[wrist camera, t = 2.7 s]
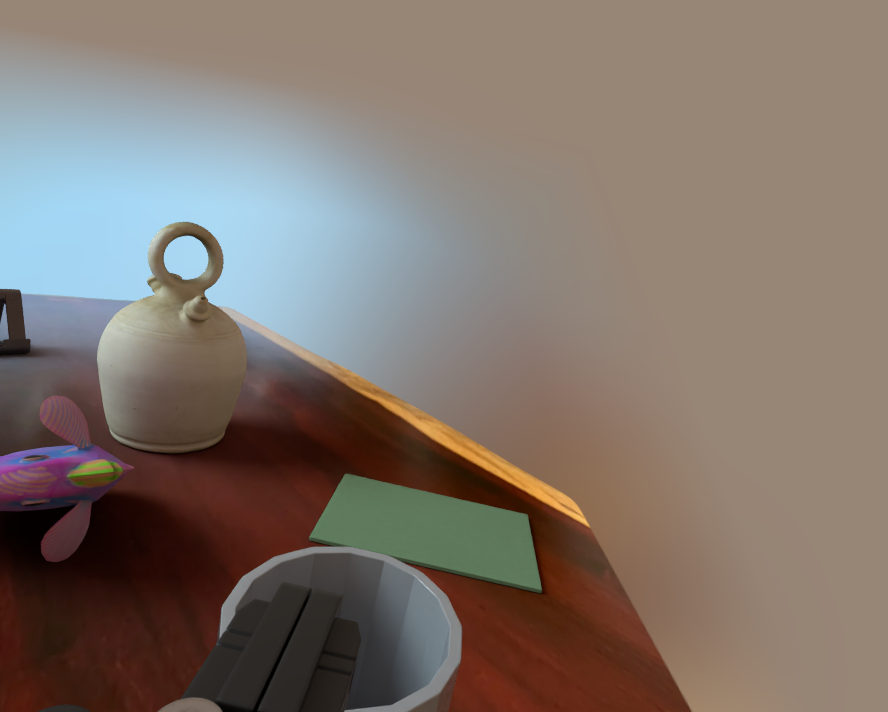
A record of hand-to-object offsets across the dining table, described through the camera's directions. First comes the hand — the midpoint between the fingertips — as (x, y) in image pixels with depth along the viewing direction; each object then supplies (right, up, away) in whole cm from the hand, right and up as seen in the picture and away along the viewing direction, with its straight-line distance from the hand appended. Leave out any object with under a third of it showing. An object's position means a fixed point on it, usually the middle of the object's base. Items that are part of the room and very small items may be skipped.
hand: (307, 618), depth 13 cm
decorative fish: (-30, -8, +30) cm, 43 cm away
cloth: (+2, -12, +43) cm, 45 cm away
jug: (-30, -3, +51) cm, 60 cm away
